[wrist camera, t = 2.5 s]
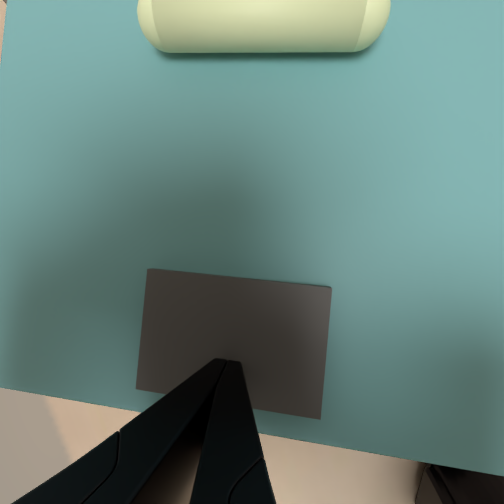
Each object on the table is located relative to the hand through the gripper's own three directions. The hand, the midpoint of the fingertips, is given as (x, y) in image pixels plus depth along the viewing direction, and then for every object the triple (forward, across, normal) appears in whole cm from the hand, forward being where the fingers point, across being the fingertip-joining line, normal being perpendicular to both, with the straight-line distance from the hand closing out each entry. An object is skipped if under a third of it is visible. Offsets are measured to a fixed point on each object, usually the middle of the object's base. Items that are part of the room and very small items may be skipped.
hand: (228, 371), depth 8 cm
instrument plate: (+3, 0, -6) cm, 7 cm away
